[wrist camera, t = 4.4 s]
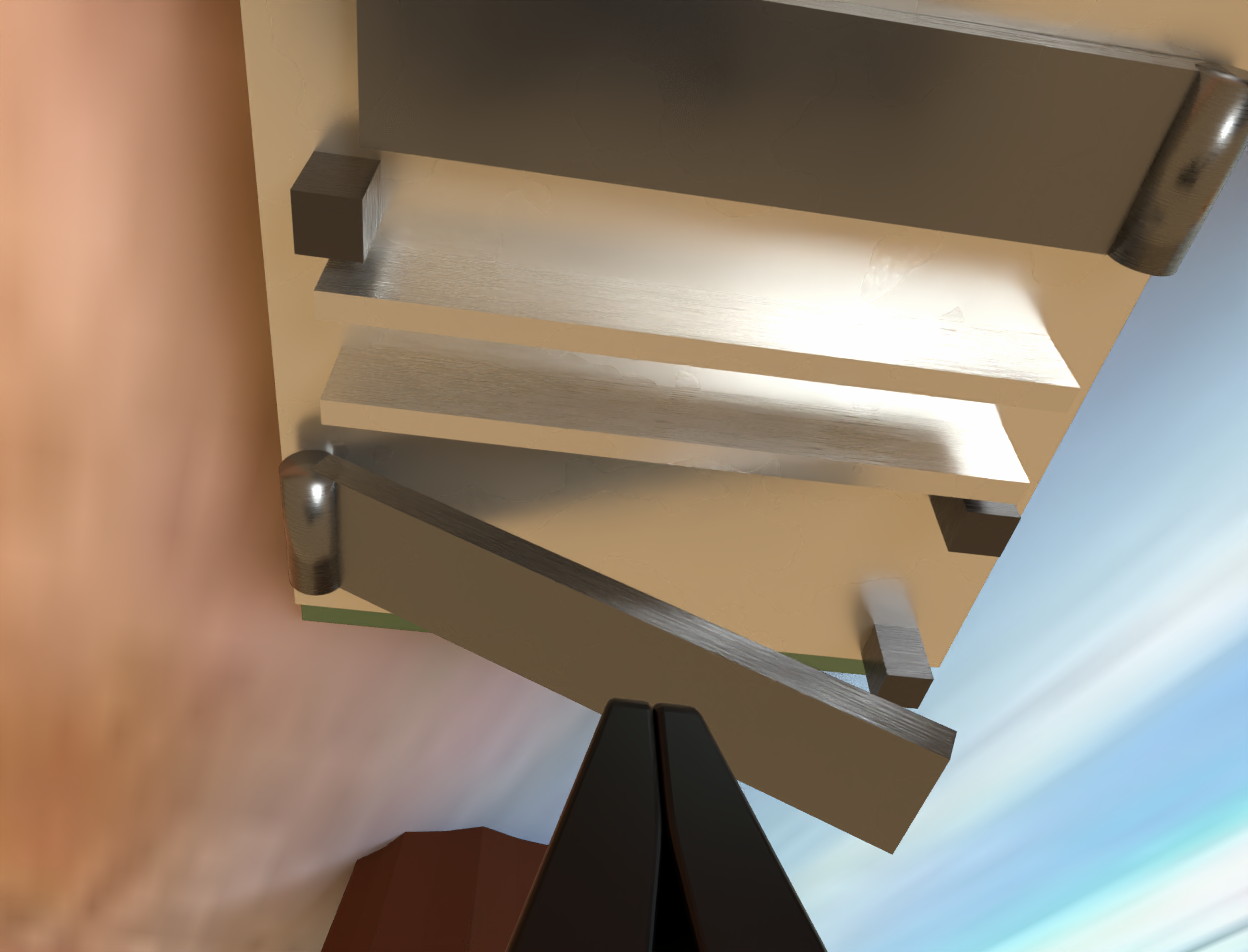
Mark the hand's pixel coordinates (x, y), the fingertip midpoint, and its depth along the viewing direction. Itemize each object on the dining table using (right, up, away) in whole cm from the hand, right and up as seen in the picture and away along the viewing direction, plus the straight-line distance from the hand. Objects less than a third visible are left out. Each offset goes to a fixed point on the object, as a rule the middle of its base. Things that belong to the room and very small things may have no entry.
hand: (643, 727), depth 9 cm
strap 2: (-1, 0, +9) cm, 9 cm away
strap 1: (+2, +8, +5) cm, 10 cm away
